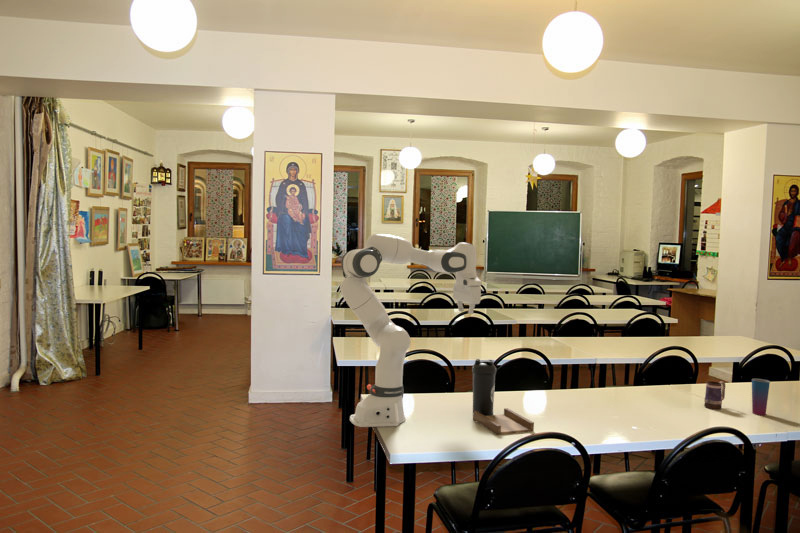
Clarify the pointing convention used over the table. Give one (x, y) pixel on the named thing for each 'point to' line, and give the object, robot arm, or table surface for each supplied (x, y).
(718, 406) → the mug
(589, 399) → the table surface
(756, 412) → the cup
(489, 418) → the cradle
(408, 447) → the table surface
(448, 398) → the table surface
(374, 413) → the robot arm
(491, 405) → the water bottle
